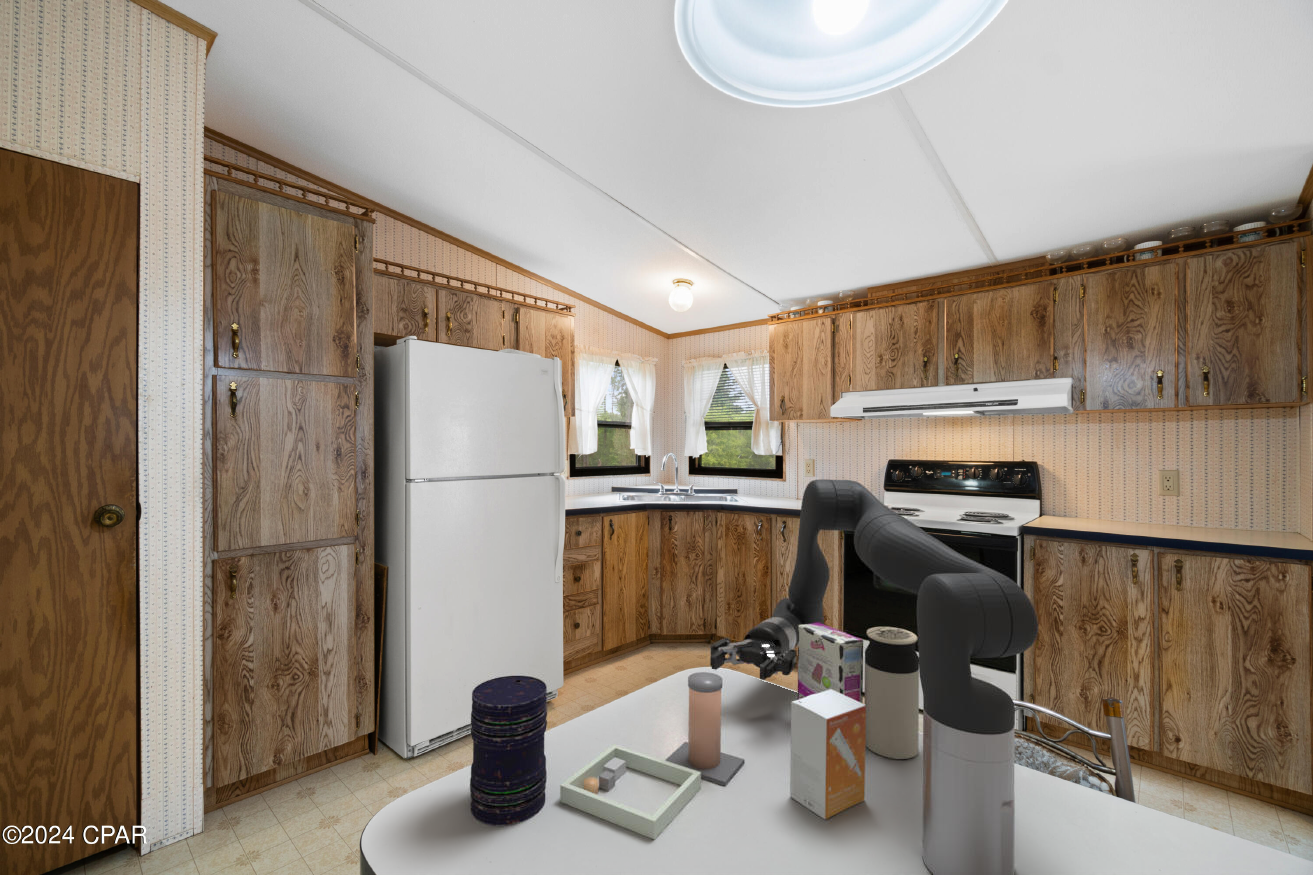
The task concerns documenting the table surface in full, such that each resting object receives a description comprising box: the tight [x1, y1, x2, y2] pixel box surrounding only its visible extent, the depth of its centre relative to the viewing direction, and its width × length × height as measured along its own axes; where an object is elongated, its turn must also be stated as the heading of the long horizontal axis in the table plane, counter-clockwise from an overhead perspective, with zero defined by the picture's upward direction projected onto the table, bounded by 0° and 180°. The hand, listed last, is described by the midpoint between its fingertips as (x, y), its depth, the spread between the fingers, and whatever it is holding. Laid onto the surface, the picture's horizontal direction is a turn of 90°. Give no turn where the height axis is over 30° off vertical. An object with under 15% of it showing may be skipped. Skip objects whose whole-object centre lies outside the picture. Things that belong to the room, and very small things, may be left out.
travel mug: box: [864, 626, 920, 760], centre depth 95 cm, size 8×8×18 cm
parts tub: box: [559, 743, 702, 840], centre depth 81 cm, size 15×13×2 cm
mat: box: [665, 741, 745, 787], centre depth 89 cm, size 10×7×1 cm
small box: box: [789, 689, 866, 820], centre depth 81 cm, size 8×6×13 cm
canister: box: [687, 671, 723, 769], centre depth 89 cm, size 5×5×12 cm
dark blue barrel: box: [469, 675, 548, 827], centre depth 79 cm, size 10×10×15 cm
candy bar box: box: [796, 623, 864, 704], centre depth 101 cm, size 11×5×16 cm, turn 25°
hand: (737, 668), depth 98 cm, fingers open, 8 cm apart
